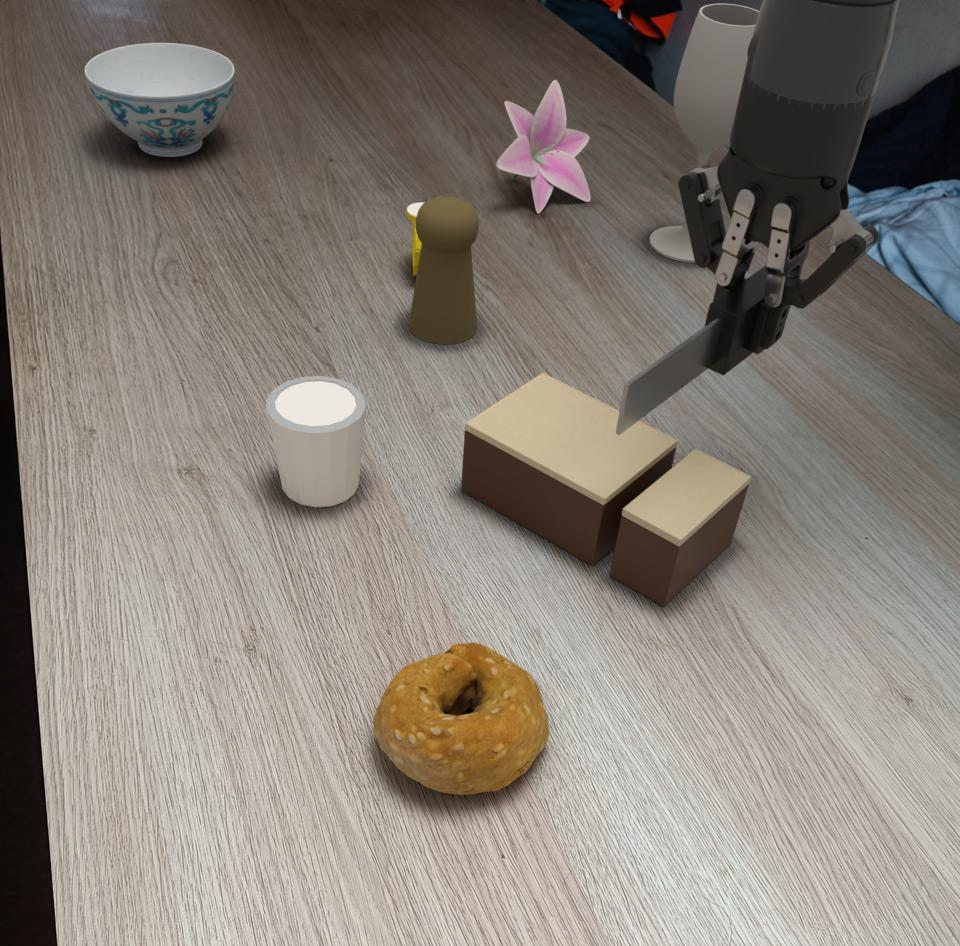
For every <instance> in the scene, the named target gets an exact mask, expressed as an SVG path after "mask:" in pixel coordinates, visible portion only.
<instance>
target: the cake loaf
mask: <svg viewBox="0 0 960 946" xmlns="http://www.w3.org/2000/svg"><path fill="white" fill-rule="evenodd" d="M619 412H620V409H619V410H618V409H617V408H614V406H613V407H612V406H611V405H609V404H606V403H605V402H603V401H601V400H599V399H597V398H594V397H593V396H590V395H589V394H587V393H584V392H582V391H580V390H579V389H577V388H575V387H573V386H571V385H570V384H569V385H568V384H567V383H564V382H562V381H561V380H558V379H557V378H555V377H553V376H550V375H548V374H547V373H545V372H541V373H540V374H538V375H537V376H535V377H534V378H532V379H531V380H529V381H527V382H526V383H524V384H522V386H520V387H519V388H517V389H515V390H513V391H512V392H511V393H509V394H507V395H506V396H504V397H503V398H501V399H499V400H498V401H497V402H496V403H494V404H492V405H491V406H489V407H488V408H486V409H484V410H483V411H481V412H480V413H478V414H476V415H475V416H474V417H473V418H471V419H469V420H468V421H466V422H465V423H464V435H463V453H462V467H461V468H462V470H461V483H460V484H461V485H460V491H462V492H463V493H464V494H467V495H469V496H470V497H472V498H474V500H477V501H479V502H480V503H481V504H484V505H486V506H487V507H489V508H491V509H493V510H494V511H496V512H498V513H499V514H501V515H502V516H505V517H506V518H508V519H510V520H511V521H514V522H515V523H517V524H519V525H520V526H522V527H524V528H526V529H527V530H529V531H531V532H532V533H534V534H536V535H538V536H539V537H541V538H543V539H544V540H546V541H548V542H550V543H552V544H553V545H555V546H556V547H558V548H560V549H562V550H564V551H566V552H567V553H568V554H571V555H572V556H574V557H576V558H578V559H579V560H581V561H583V562H585V563H586V564H588V565H590V566H595V565H596V564H597V563H598V562H599V561H600V560H601V559H602V558H604V557H605V556H606V555H607V554H609V553H610V552H611V551H612V550H613V549H615V547H616V542H617V537H618V532H619V527H620V522H621V517H622V511H623V508H624V507H625V506H627V505H628V504H629V503H630V502H632V501H633V500H634V499H635V498H636V497H638V496H639V495H640V494H641V493H642V492H644V491H645V490H646V489H647V488H649V487H650V486H651V485H652V484H653V483H655V482H656V481H657V480H658V479H659V478H661V477H662V476H663V475H664V474H666V473H667V472H668V471H669V470H670V469H672V468H673V464H674V461H675V460H674V459H675V456H676V451H677V446H678V442H679V440H678V439H677V438H675V437H673V436H671V435H670V434H667V433H665V432H663V431H661V430H659V429H657V428H655V427H653V426H650V425H649V424H647V423H644V422H643V421H640V420H639V421H638V422H636V423H635V424H634V425H632V426H631V427H630V428H628V429H627V430H626V431H624V432H623V433H622V434H620V435H618V434H616V428H617V422H618V417H619Z"/></svg>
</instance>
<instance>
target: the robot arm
mask: <svg viewBox="0 0 960 946" xmlns="http://www.w3.org/2000/svg"><path fill="white" fill-rule="evenodd" d="M899 3H900V0H762V2H761V5H760V9H759V10H758V11H759V14H758V17H757V21H756V25H755V29H754V34H753V37H752V39H751V41H750V44H749V48H748V53H747V56H748V60H747V65H746V69H745V73H744V78H743V82H742V87H741V91H740V96H739V100H738V104H737V109H736V113H735V118H734V122H733V127H732V131H731V136H730V142H729V143H730V146H729V148H728V150H727V152H726V154H725V155H724V156H723V157H722V159H721V160H720V161H719V163H718V165H714V166H711V165H709V164H706V165H702V166H700V167H698V166H697V167H698V168H697V167H696V168H693V169H692V170H690V171H688V172H687V173H686V174H684V175H683V176H681V177H680V178H679V180H678V190H679V194H680V198H681V203H682V209H683V212H684V217H685V222H686V223H687V227H688V232H689V236H690V241H691V246H692V250H693V255H694V260H695V262H694V263H695V264H696V265H697V267H699V268H702V269H706V268H707V269H708V270H709V271H710V272H712V274H714V279H715V281H716V287H715V290H714V295H713V299H712V302H714V301H715V300H717V299H718V298H720V297H721V296H722V295H724V294H725V293H727V292H728V291H730V290H731V289H733V288H734V287H735V286H737V285H738V284H740V283H741V282H743V281H744V280H746V279H747V277H746V274H747V273H748V272H749V270H750V267H751V265H752V262H753V259H754V256H755V254H756V252H757V249H758V246H759V245H760V244H762V245H763V246H765V248H767V249H768V250H767V257H766V263H765V266H766V270H768V276H767V282H766V288H765V294H764V300H765V301H763V302H762V303H761V304H760V308H759V311H758V315H757V319H756V322H755V326H754V330H753V334H752V337H751V341H750V345H749V351H751V352H753V353H752V354H755V355H760V354H761V353H762V352H764V351H765V350H768V349H770V348H771V347H772V346H773V345H775V344H777V342H778V341H780V339H781V338H782V336H783V333H784V329H785V326H786V323H787V319H788V316H789V313H790V309H791V306H794V308H797V309H804V308H806V307H808V305H810V304H811V303H813V302H814V301H815V300H816V299H818V298H820V297H821V296H822V295H823V294H824V293H825V292H827V291H828V289H830V288H831V287H832V286H833V285H834V284H836V282H837V281H838V280H839V279H840V278H842V276H844V275H845V273H846V272H848V271H849V270H850V269H851V268H852V267H854V265H855V264H856V263H857V262H858V261H859V260H860V259H861V258H862V257H864V255H866V253H867V252H869V251H870V250H871V249H872V248H873V247H874V246H875V245H876V244H877V243H878V242H879V239H880V234H879V231H878V230H877V228H875V226H872V225H866V226H864V227H863V226H862V225H861V223H860V222H859V221H858V220H857V219H856V218H855V217H854V215H853V214H852V213H851V212H850V211H849V210H848V209H849V206H850V194H849V177H850V175H851V172H852V169H853V167H854V165H855V161H856V158H857V154H858V152H859V148H860V144H861V141H862V138H863V134H864V131H865V128H866V125H867V122H868V118H869V116H870V112H871V109H872V106H873V102H874V99H875V96H876V93H877V90H878V86H879V83H880V80H881V78H882V77H881V76H882V73H883V70H884V66H885V64H886V60H887V57H888V54H889V50H890V47H891V43H892V38H893V33H894V28H895V23H896V16H897V12H898V7H899ZM721 196H723V199H724V203H725V205H726V208H727V212H728V214H729V217H730V220H729V224H728V227H727V230H726V227H725V225H726V224H725V221H724V220H725V219H724V216H723V211H722V207H721V206H722V205H721V201H720V198H721ZM829 227H831V229H832V234H831V235H832V236H831V238H829V241H828V243H827V251H828V253H829V254H830V255H829V256H828V258H827V259H825V261H823V262H822V263H821V265H820V266H819V267H818V268H816V269H815V271H813V272H812V274H811V275H809V276H808V277H807V278H806V279H805V278H801V277H802V272H803V266H804V263H805V261H806V260H807V258H808V255H809V252H810V246H811V243H812V242H811V241H812V240H813V239H814V238H816V237H817V236H818V235H819V234H821V233H822V232H823V231H825V230H827V228H829Z"/></svg>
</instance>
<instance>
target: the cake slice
mask: <svg viewBox="0 0 960 946" xmlns="http://www.w3.org/2000/svg"><path fill="white" fill-rule="evenodd" d="M751 480H752V476H751V475H749V474H747V473H745V472H743V471H741V470H739V469H737V468H735V467H733V466H731V465H729V464H727V463H725V462H723V461H721V460H719V459H717V458H715V457H713V456H712V455H709V454H707V453H705V452H703V451H701V450H700V449H697V448H695V449H694V450H692V451H691V452H690V453H688V454H687V455H686V456H685V457H683V458H682V459H681V460H680V461H679V462H678V463H676V464H675V465H673V466H672V468H671V469H670V470H669V471H668V472H667V473H666V474H664V475H663V476H662V477H661V478H659V479H658V480H657V481H656V482H655V483H653V484H652V485H651V486H650V487H649V488H647V489H646V490H645V491H644V492H642V493H641V494H640V495H639V496H638V497H636V498H635V499H634V500H633V501H632V502H630V503H629V504H628V505H627V506H625V507H624V508H623V511H622V517H621V522H620V527H619V532H618V537H617V542H616V546H615V547H614V551H613V557H612V563H611V567H610V571H609V576H610V577H611V578H613V579H614V580H616V581H618V582H620V583H621V584H623V585H624V586H627V587H628V588H630V589H632V590H634V591H636V592H637V593H639V594H641V595H642V596H644V597H645V598H647V599H650V600H651V601H652V602H655V603H656V604H658V605H659V606H661V607H665V606H666V605H668V604H669V603H670V602H671V600H673V599H674V598H675V597H676V596H677V595H678V594H679V593H680V592H681V591H682V590H684V588H685V587H686V586H687V585H689V584H690V582H692V581H693V580H695V578H696V577H697V576H698V575H699V574H700V573H701V572H702V571H704V570H705V569H706V568H707V566H709V565H710V564H711V563H712V562H713V561H714V560H715V559H716V558H717V557H718V556H719V555H720V554H721V553H722V552H723V551H724V550H726V549H727V548H728V547H729V546H730V545H731V544H732V543H733V539H734V535H735V532H736V529H737V526H738V522H739V519H740V515H741V512H742V509H743V507H744V506H743V505H744V502H745V499H746V495H747V492H748V490H749V485H750V483H751Z"/></svg>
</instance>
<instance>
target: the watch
mask: <svg viewBox="0 0 960 946" xmlns="http://www.w3.org/2000/svg"><path fill="white" fill-rule="evenodd" d="M424 203H425V202H424V201H423V202H421V201H420V202H414V203H411V204H409V205H407V207H406V218H407V220H408V221H410V222H412V275H413V277H415V278H416V276H417V270H418V264H419V258H420V252H421V245H422V243H421V241H420V240H419V238H418V236H417V232H416V217H417V214H418V210H419V209H420V207H421V206H422V204H424Z"/></svg>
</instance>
